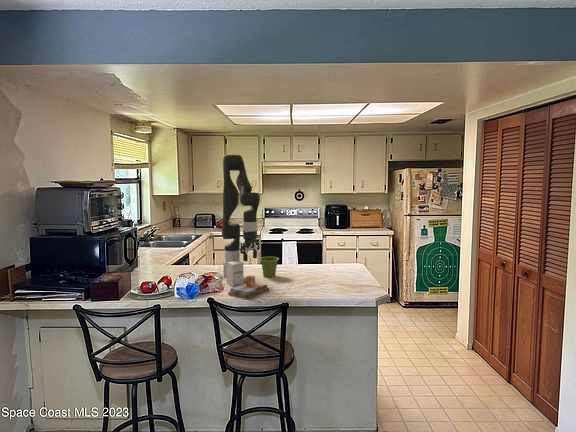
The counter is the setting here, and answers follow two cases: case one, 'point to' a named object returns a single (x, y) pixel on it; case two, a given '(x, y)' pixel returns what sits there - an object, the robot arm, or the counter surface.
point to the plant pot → (269, 266)
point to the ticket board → (259, 291)
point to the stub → (250, 282)
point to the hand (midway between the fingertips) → (250, 259)
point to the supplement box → (235, 273)
